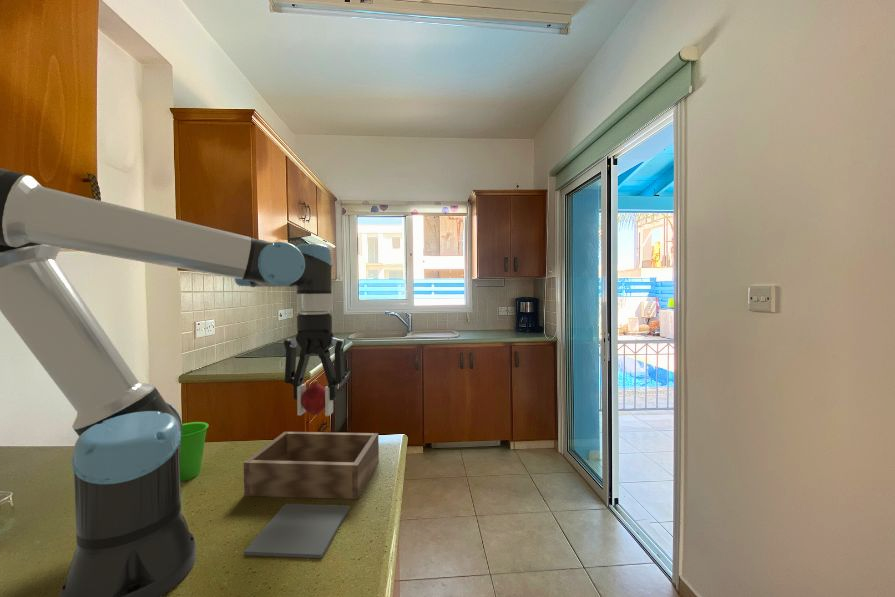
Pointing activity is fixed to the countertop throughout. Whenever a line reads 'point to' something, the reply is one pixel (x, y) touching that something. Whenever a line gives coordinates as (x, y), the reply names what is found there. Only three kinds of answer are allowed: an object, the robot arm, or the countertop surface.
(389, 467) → the countertop surface
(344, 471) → the box
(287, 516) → the mat
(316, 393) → the onion
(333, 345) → the robot arm
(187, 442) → the cup
